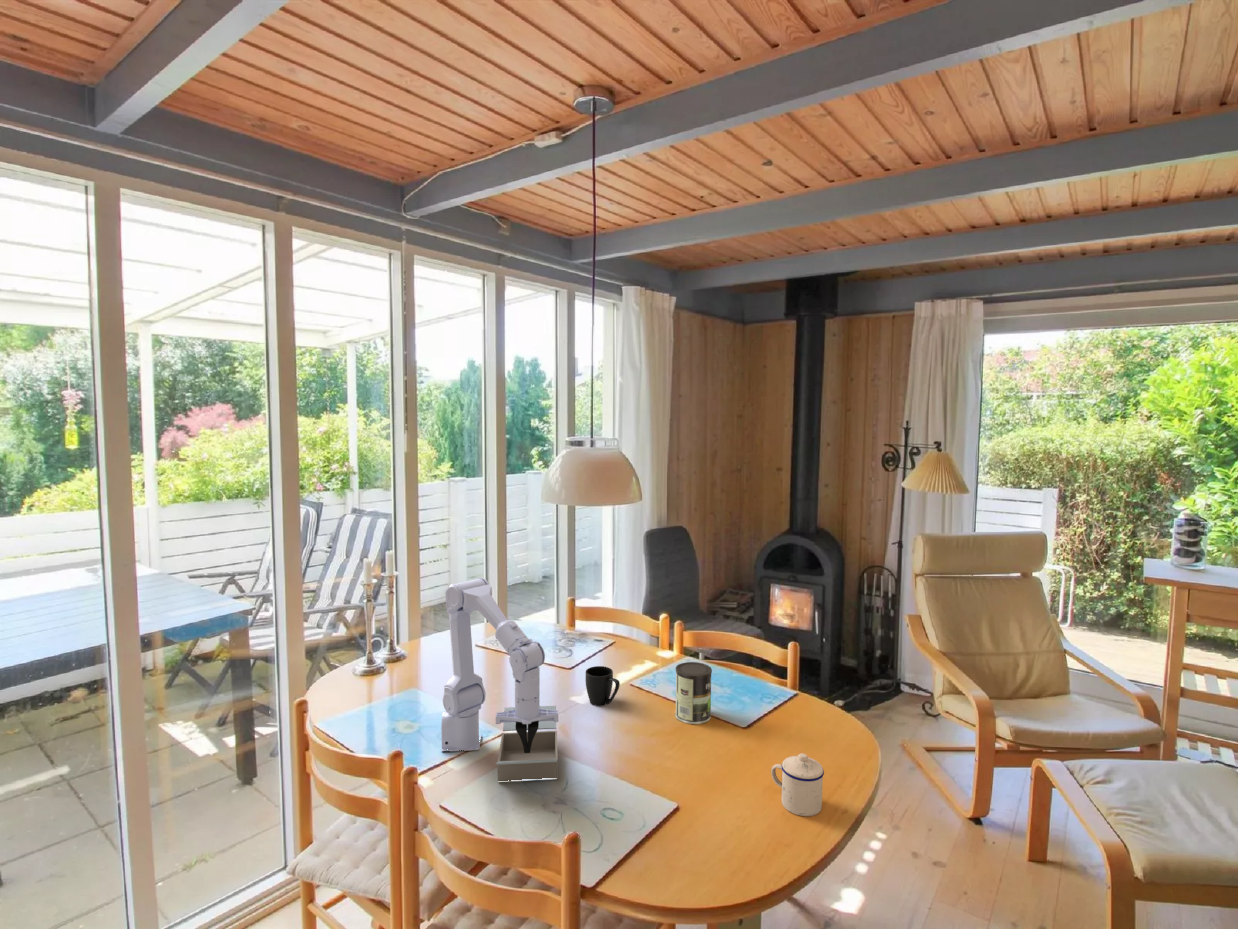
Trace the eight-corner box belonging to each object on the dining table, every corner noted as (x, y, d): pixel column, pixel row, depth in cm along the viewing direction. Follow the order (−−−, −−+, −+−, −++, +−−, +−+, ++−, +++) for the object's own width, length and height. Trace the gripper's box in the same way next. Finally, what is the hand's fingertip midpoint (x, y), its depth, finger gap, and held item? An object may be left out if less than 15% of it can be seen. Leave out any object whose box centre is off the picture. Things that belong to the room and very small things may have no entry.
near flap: (498, 761, 153) (498, 763, 152) (495, 762, 146) (495, 764, 146) (556, 758, 154) (556, 760, 154) (556, 759, 148) (556, 761, 147)
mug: (607, 715, 188) (607, 683, 187) (579, 701, 196) (579, 671, 196) (627, 706, 194) (627, 675, 193) (599, 693, 202) (599, 663, 201)
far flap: (504, 707, 174) (504, 708, 174) (503, 730, 168) (503, 731, 168) (556, 705, 175) (556, 706, 175) (556, 727, 169) (556, 728, 169)
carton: (497, 782, 154) (497, 762, 153) (502, 751, 167) (502, 733, 167) (557, 779, 155) (557, 759, 155) (557, 749, 169) (557, 730, 168)
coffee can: (712, 709, 192) (712, 663, 191) (709, 726, 182) (710, 677, 181) (677, 706, 194) (677, 660, 193) (672, 722, 184) (673, 674, 183)
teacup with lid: (829, 804, 146) (831, 754, 145) (811, 823, 139) (813, 771, 138) (780, 783, 154) (781, 736, 153) (761, 801, 147) (762, 751, 146)
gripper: (494, 703, 148) (494, 761, 149) (558, 701, 150) (558, 758, 151) (496, 690, 155) (497, 745, 156) (558, 688, 157) (558, 742, 158)
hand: (527, 750), depth 154 cm, fingers closed
